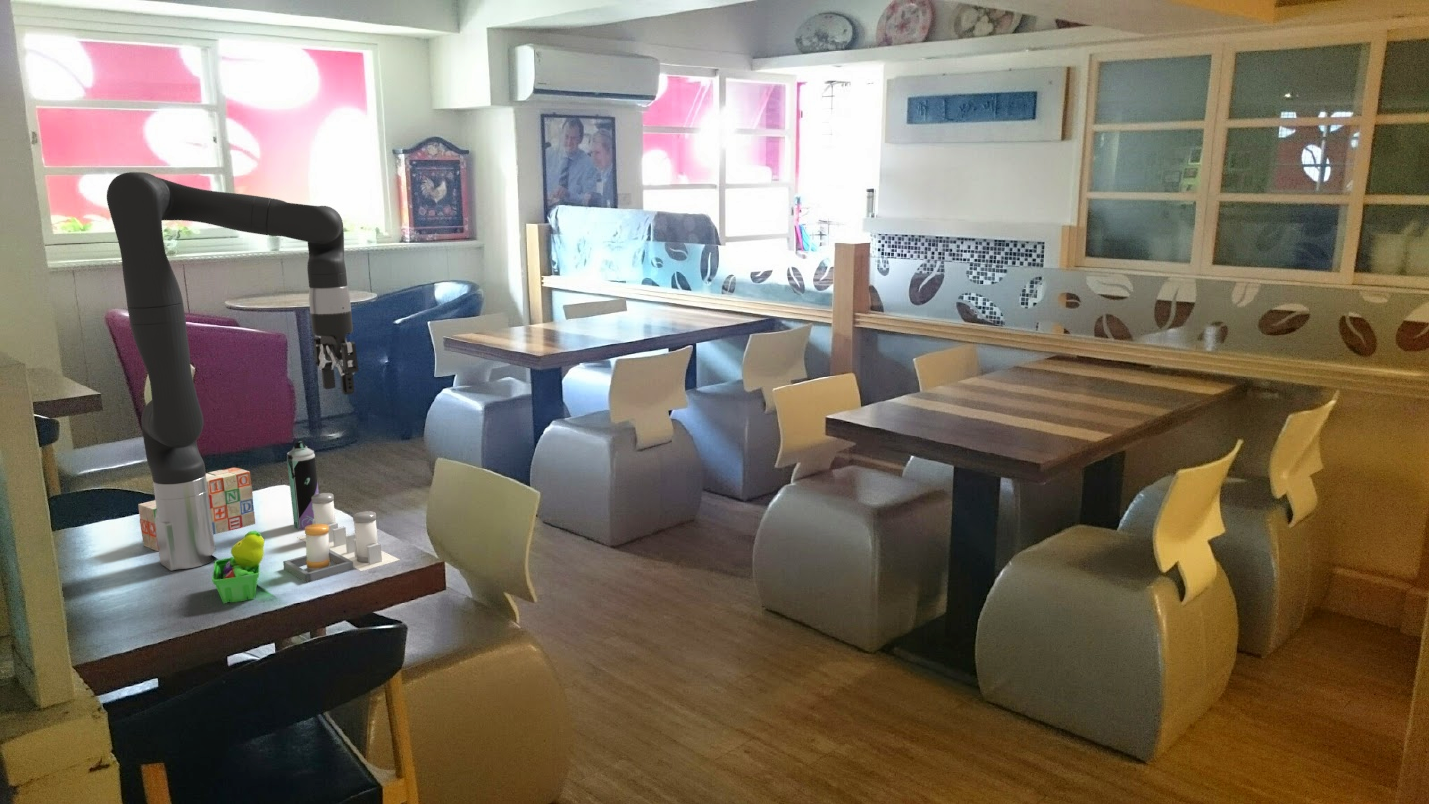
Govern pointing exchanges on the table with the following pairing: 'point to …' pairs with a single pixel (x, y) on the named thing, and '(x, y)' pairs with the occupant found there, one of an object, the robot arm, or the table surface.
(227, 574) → the fruit basket
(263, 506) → the table surface
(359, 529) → the fuse right
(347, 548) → the fuse strip
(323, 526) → the fuse marked
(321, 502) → the fuse left
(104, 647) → the table surface
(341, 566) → the tray
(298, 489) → the spray can
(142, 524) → the stack of blocks
